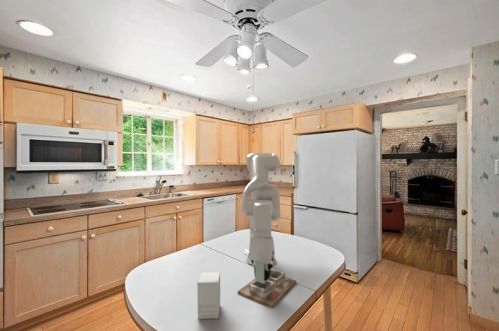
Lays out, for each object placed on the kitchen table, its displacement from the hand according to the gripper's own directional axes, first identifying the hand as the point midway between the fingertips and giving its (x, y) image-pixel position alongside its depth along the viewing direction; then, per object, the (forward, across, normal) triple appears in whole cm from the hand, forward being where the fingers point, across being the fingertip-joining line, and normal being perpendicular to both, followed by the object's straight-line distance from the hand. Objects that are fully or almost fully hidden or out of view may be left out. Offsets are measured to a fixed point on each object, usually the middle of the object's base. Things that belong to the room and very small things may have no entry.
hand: (262, 277), depth 92 cm
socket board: (+7, 0, +5) cm, 9 cm away
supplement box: (+7, -9, -21) cm, 24 cm away
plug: (+1, 0, 0) cm, 1 cm away
